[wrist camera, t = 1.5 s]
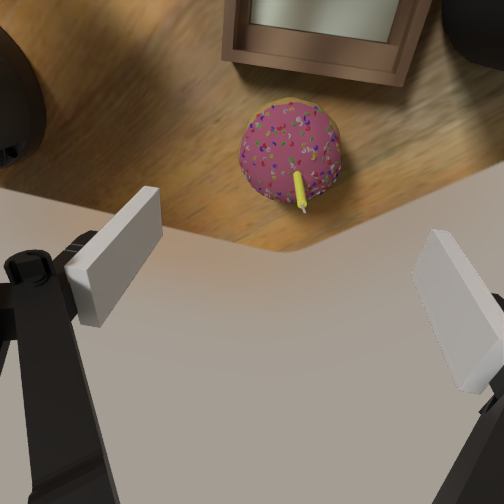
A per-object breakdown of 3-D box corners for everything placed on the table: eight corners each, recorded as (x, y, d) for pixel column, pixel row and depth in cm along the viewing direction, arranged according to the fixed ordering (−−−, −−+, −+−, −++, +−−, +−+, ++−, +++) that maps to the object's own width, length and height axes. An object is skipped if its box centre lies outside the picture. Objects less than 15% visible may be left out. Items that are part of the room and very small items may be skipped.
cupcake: (357, 140, 31) (380, 194, 21) (290, 198, 35) (282, 266, 25) (293, 67, 28) (284, 89, 18) (228, 139, 32) (193, 189, 23)
